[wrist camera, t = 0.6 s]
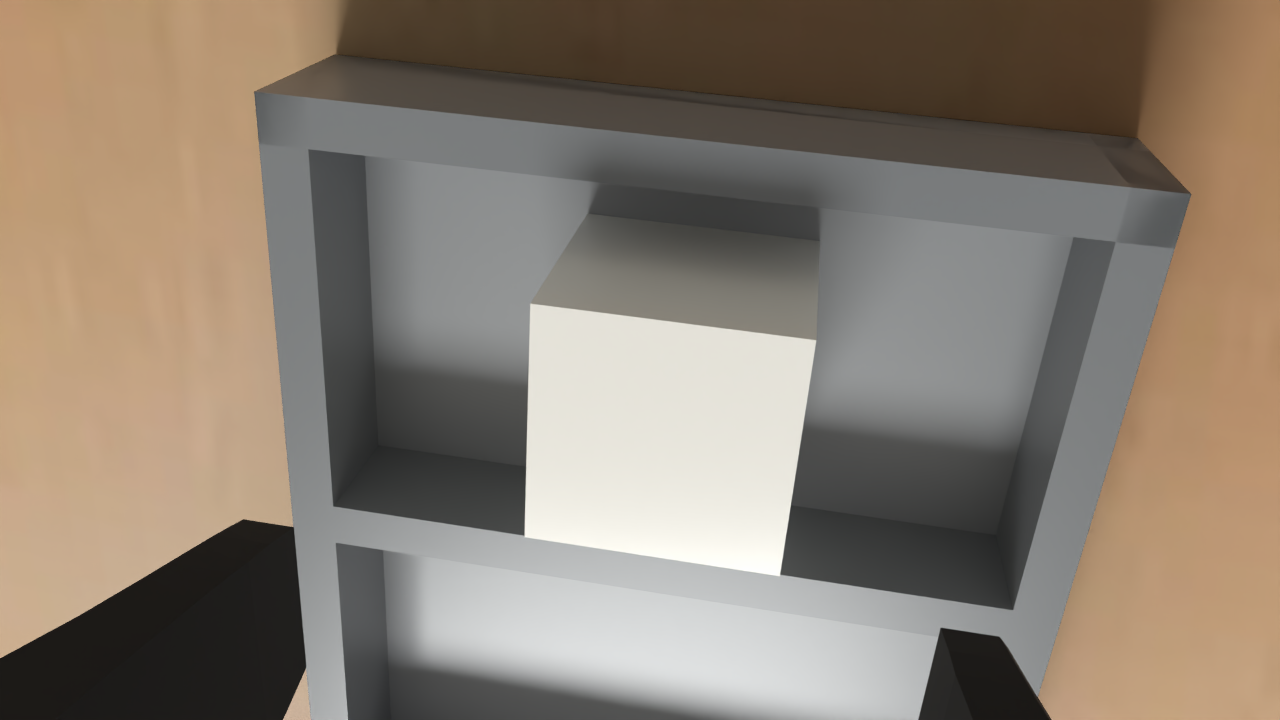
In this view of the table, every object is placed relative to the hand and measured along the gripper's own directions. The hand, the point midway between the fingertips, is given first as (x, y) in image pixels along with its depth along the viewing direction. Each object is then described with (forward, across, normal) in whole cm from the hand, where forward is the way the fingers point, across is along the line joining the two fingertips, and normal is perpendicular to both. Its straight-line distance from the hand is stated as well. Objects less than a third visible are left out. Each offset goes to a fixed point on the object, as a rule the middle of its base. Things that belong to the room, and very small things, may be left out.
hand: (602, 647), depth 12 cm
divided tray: (+9, 0, +4) cm, 10 cm away
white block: (+8, 0, 0) cm, 8 cm away
